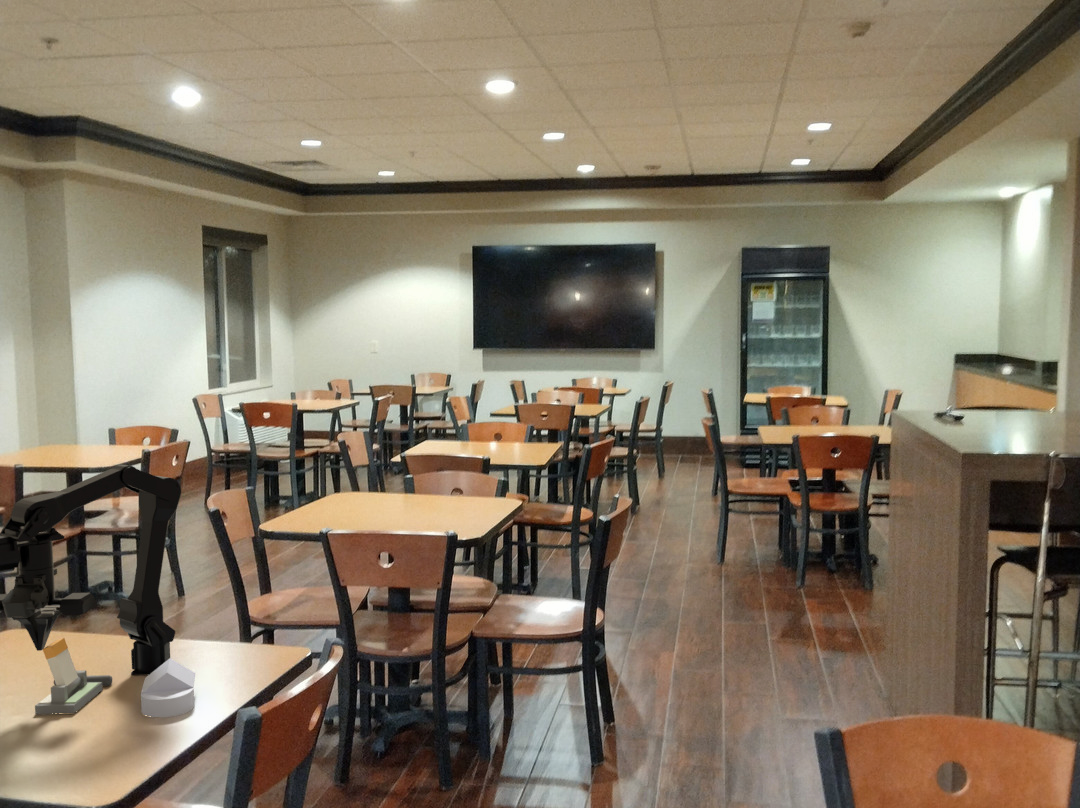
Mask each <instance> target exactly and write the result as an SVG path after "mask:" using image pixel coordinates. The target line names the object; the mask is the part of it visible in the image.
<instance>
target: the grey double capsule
mask: <svg viewBox="0 0 1080 808" xmlns="http://www.w3.org/2000/svg"><path fill="white" fill-rule="evenodd" d="M87 682H102V687H111V686H112V684H113V677H112V676H111V675H108V674H107V675H106V674H105V675H92V674H91V675H87ZM54 685H56V683H55V680H54V679H53V686H54ZM110 685H111V686H110Z"/></svg>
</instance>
